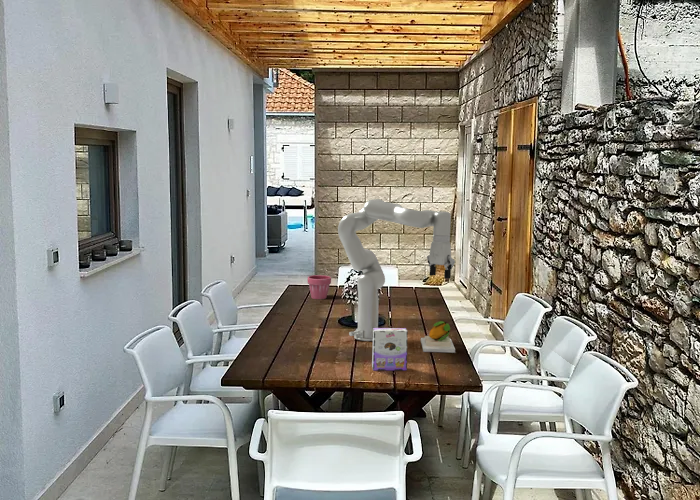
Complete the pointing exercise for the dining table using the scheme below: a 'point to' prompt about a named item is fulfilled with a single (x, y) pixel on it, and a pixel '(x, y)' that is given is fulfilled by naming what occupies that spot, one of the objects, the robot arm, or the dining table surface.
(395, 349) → the candy box
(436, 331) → the corn
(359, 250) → the robot arm
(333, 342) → the dining table surface
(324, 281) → the plant pot
